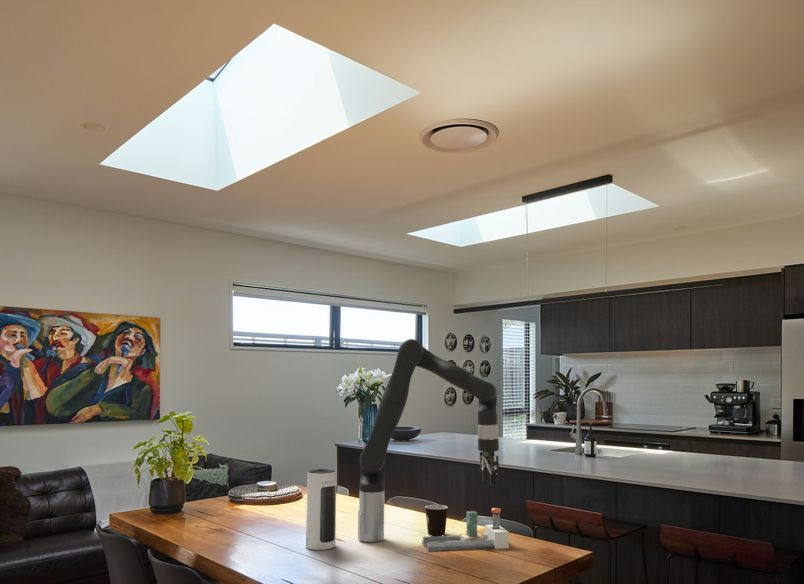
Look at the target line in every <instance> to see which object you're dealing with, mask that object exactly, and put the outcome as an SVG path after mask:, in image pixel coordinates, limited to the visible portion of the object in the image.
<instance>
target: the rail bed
mask: <svg viewBox="0 0 804 584" xmlns="http://www.w3.org/2000/svg"><path fill="white" fill-rule="evenodd" d="M479 534H480V533H479ZM480 535H482V536H483V537H484V540H460V534H459V535H456V534H455V535H444V536H430V535H428V536H422V541H421V544H422V545H423V547H424V548H425V547H426V548H425V549H426V550H427V551H428V552H441V550H449V551H468V550H488V549H489V550H492V549H491V548H493V549H495V545H494V540H493V539H487V535H486V534H485V533H483V534H482V533H481V534H480Z"/></svg>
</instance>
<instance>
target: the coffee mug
mask: <svg viewBox="0 0 804 584" xmlns="http://www.w3.org/2000/svg"><path fill="white" fill-rule="evenodd" d="M448 508H449V506H447V505H443V504H428V505H425V506H424V509H425V518H426V527H427V528H426V529H427V535H428V534H429V535H428V536H430V535H432V536H442V535H444V536H446V528H447V518H448Z"/></svg>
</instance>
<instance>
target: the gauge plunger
mask: <svg viewBox="0 0 804 584" xmlns="http://www.w3.org/2000/svg"><path fill="white" fill-rule="evenodd" d="M491 513H492V525H493V530H496V529H500V526H501V525H500V523H501V522H500V521H501V520H500V518H501V517H500V513H501V508H499V507H492V508H491Z"/></svg>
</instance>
